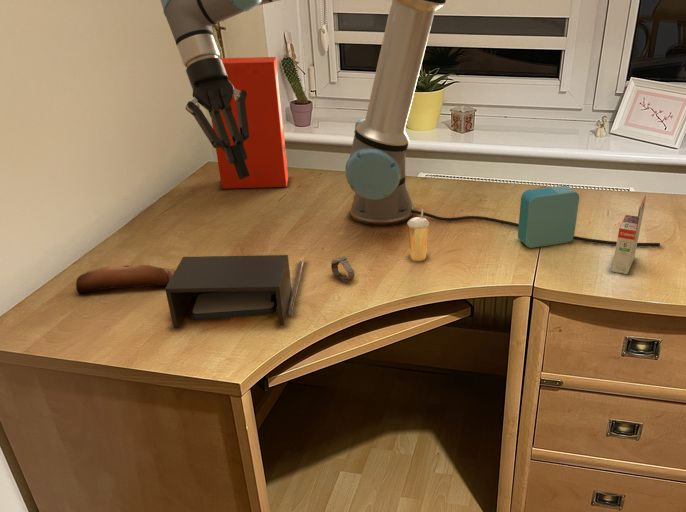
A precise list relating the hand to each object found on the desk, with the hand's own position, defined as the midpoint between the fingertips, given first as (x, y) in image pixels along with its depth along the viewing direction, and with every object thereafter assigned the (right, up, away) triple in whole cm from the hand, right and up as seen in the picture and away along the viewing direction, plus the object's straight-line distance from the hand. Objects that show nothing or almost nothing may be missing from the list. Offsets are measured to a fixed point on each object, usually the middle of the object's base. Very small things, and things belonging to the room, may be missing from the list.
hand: (244, 177), depth 145 cm
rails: (+1, -23, -4) cm, 24 cm away
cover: (+1, -28, -11) cm, 30 cm away
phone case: (+1, -28, -10) cm, 29 cm away
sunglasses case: (-24, -22, -1) cm, 32 cm away
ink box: (+79, -18, +3) cm, 81 cm away
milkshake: (+36, -16, +8) cm, 40 cm away
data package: (+65, -11, +14) cm, 68 cm away
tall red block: (-8, +10, +49) cm, 50 cm away
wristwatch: (+20, -21, -1) cm, 30 cm away
